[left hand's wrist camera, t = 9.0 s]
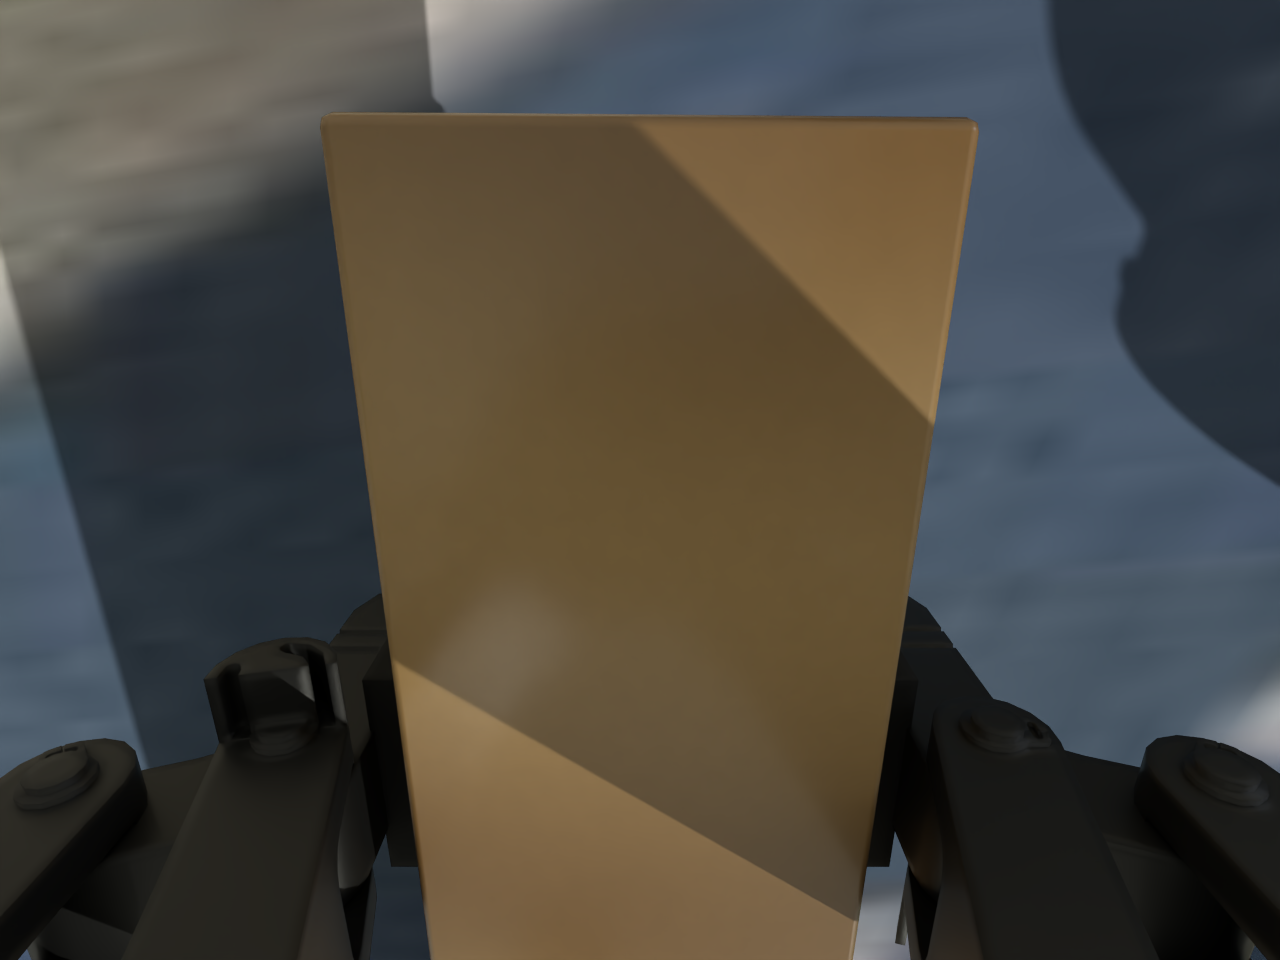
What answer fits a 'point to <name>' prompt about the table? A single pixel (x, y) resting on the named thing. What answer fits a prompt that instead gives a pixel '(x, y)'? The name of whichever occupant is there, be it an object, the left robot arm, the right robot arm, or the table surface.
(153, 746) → the table surface
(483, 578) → the beam
